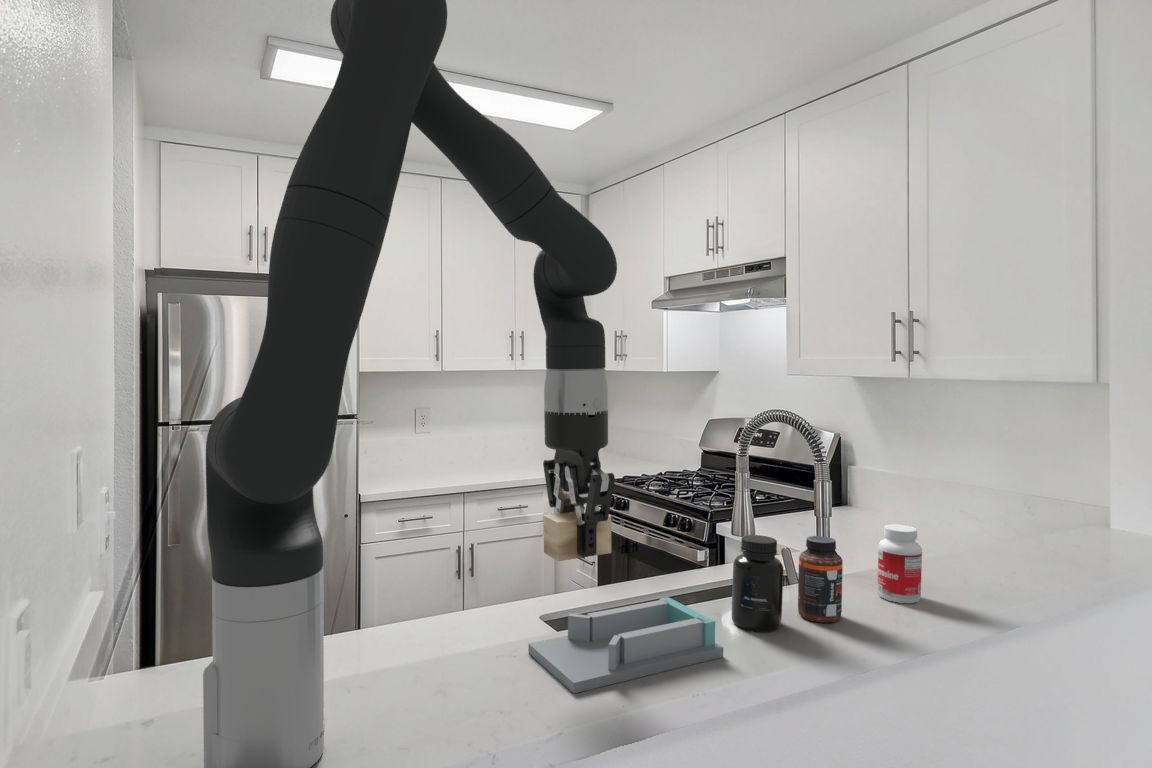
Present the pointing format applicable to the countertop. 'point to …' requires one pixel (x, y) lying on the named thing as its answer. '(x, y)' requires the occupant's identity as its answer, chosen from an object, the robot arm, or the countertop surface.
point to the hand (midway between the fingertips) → (577, 549)
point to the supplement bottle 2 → (820, 581)
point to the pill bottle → (899, 565)
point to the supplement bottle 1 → (757, 585)
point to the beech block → (571, 536)
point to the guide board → (627, 644)
